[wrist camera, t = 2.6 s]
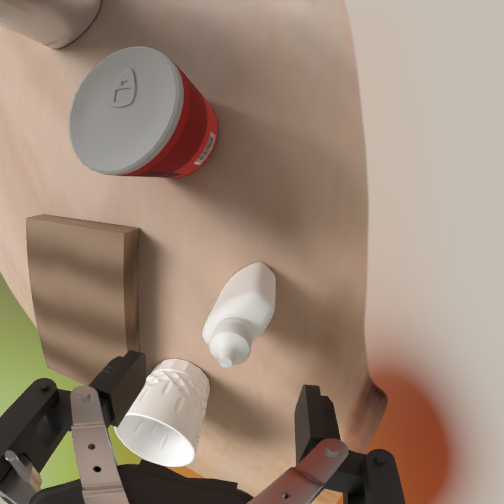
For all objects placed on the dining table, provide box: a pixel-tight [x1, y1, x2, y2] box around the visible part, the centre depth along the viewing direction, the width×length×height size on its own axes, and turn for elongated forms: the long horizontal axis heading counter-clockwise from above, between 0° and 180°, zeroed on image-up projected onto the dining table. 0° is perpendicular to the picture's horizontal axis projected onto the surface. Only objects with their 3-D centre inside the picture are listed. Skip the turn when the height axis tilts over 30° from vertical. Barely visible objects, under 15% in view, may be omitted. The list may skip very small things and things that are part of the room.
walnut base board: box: [26, 214, 140, 386], centre depth 27 cm, size 20×14×3 cm
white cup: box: [114, 358, 210, 467], centre depth 24 cm, size 8×8×10 cm
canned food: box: [69, 46, 218, 178], centre depth 18 cm, size 8×8×11 cm
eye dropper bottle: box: [202, 262, 276, 368], centre depth 20 cm, size 4×6×12 cm
